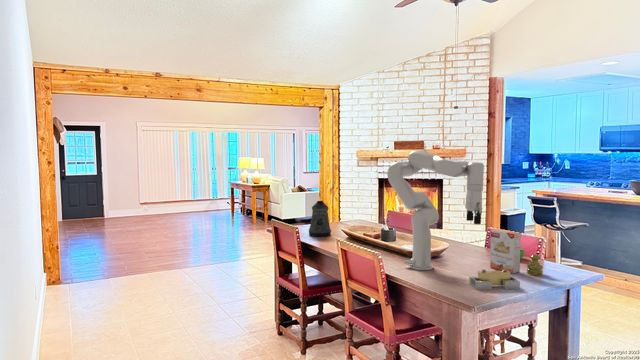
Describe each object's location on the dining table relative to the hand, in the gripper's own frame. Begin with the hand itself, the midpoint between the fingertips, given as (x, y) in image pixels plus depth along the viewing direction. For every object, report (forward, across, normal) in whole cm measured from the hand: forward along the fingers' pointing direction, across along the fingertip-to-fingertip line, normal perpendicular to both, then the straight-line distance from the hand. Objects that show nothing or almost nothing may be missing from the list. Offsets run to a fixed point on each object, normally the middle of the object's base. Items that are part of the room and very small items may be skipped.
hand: (473, 222), depth 226 cm
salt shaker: (+28, -4, +34) cm, 44 cm away
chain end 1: (+28, +15, -1) cm, 31 cm away
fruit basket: (+28, -35, +38) cm, 59 cm away
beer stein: (+31, -114, -70) cm, 138 cm away
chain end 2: (+27, +15, +12) cm, 33 cm away
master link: (+26, +15, +5) cm, 31 cm away
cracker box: (+28, -12, +22) cm, 38 cm away
